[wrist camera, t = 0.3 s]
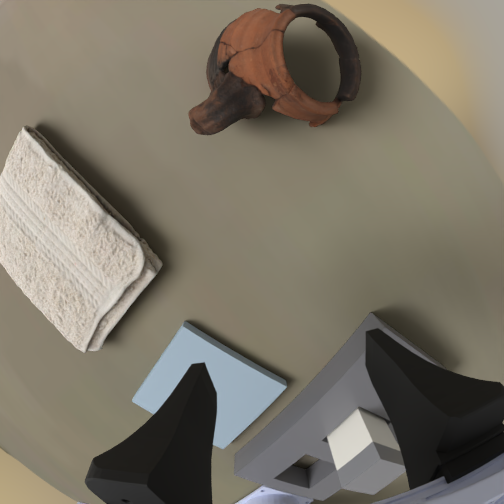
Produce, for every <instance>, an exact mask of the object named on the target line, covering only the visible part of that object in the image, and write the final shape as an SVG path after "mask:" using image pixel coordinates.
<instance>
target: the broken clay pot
mask: <svg viewBox="0 0 504 504" xmlns="http://www.w3.org/2000/svg"><path fill="white" fill-rule="evenodd" d="M275 8H276V9H278V10H281V12H280V14H279V13H275V12H274V11H271V10H267V9H261V8H257V9H255V10H253V11H250V12H246V13H244V14H243V15H241V16H240V17H239V18H238V19H236V20H234V21H233V22H231V23H230V24H229V25H228V26H227V27H226V28H225V29H224V30H223V31H222V32H221V34H220V36H219V37H218V38H217V40H216V42H215V45H214V47H213V49H212V52H211V54H210V56H209V59H208V63H207V71H206V74H207V79H208V84H209V87H210V89H211V93H210V96H209V97H208V99H206V100H205V101H204V102H202V103H201V104H199V105H198V106H196V107H194V108H192V109H191V110H190V111H189V118H190V125H191V127H192V129H193V130H194V131H195V132H196V133H197V134H203V135H212V134H216V133H218V132H220V131H222V130H224V129H225V128H227V127H228V126H230V125H231V124H233V123H235V122H237V121H238V120H240V119H243V118H246V119H250V118H257V117H258V116H259V115H260V114H261V112H262V111H263V110H264V108H265V105H266V103H265V98H264V97H263V94H264V95H267V96H271V97H272V98H274V99H275V101H274V104H273V105H272V109H273V110H275V111H277V112H279V113H282V114H284V115H287V116H290V117H292V118H294V119H300V120H306V121H310V123H309V125H310V127H317V126H318V125H320V124H323V123H325V122H326V121H327V120H328V119H329V118H330V117H331V116H332V115H334V114H337V113H338V112H339V111H338V108H339V107H340V105H341V104H342V102H343V101H352V100H354V99H355V98H356V95H357V93H358V90H359V85H360V81H361V65H360V60H359V54H358V50H357V47H356V45H355V43H354V40H353V38H352V36H351V34H350V33H349V31H348V30H347V28H346V27H345V25H344V24H343V23H342V22H341V21H340V20H339V19H338V18H337V17H335V16H334V15H333V14H332V13H330V12H329V11H327V10H326V9H324V8H321V7H319V6H316V5H312V4H299V5H295V6H293V5H286V4H279V5H277V6H276V7H275ZM297 17H307V18H311V19H313V20H315V21H317V22H316V25H317V26H318V27H319V28H321V29H322V30H324V31H325V32H326V33H327V35H328V36H329V37H330V38H331V41H332V43H333V45H334V47H335V49H336V51H337V53H338V55H339V57H340V58H339V65H340V73H341V83H340V87H339V91H338V93H337V96H336V97H335V99H334V101H332V102H319V101H317V100H315V99H313V98H311V97H309V96H308V95H307V94H305V93H304V92H303V91H302V90H301V89H300V88H299V87H298V86H297V85H296V84H295V83H294V81H293V79H292V77H291V75H290V73H289V71H288V68H287V66H286V62H285V58H284V54H283V37H284V32H285V30H286V28H287V26H288V25H289V23H290V22H291V21H293V20H294V19H295V18H297ZM228 64H229V66H228V69H229V72H228V73H225V72H224V69H225V68H226V67H227V65H228Z"/></svg>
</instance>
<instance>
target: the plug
mask: <svg viewBox="0 0 504 504" xmlns="http://www.w3.org/2000/svg"><path fill="white" fill-rule="evenodd" d="M327 439H328V442H329V445H330V449H331V452H332V456H333V459H334V463H335V466H336V469H337V473H338V476H339V480H340V483H341V487H342V489H346V490H351V491H356V492H361V493H366V494H371V495H374V494H376V493H377V492H378V491H380V490H381V489H383V488H384V487H385V486H387V485H388V484H389V483H391V482H392V481H393V480H395V479H396V478H397V477H398V476H400V475H401V474H402V473H403V472H405V471H406V469H405V465H404V461H403V457H402V454H401V451H400V447H399V446H398V444H397V442H396V440H395V438H394V436H393V434H392V432H391V431H390V429H389V427H388V425H387V423H386V421H385V419H384V418H383V417H381V416H379V415H377V414H374V413H372V412H370V411H368V410H366V409H364V408H362V407H360V406H359V407H358V408H357V409H356V410H355V411H353V412H352V413H351V414H350V415H349V416H348V417H347V418H346V419H345V420H344V421H343V422H342V423H341V424H340V425H339V426H338V427H336V428H335V429H334V430H333V431H332V432H331V433H330V434H329V435H328V436H327Z"/></svg>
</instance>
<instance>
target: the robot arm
mask: <svg viewBox="0 0 504 504" xmlns="http://www.w3.org/2000/svg"><path fill="white" fill-rule="evenodd" d="M365 365H366V368H367V371H368V374H369V377H370V380H371V383H372V385H373V387H374V389H375V391H376V393H377V395H378V397H379V399H380V401H381V403H382V405H383V407H384V409H385V411H386V413H387V415H388V417H389V419H390V421H391V424H392V426H393V429H394V432H395V435H396V438H397V441H398V444H399V447H400V451H401V454H402V457H403V461H404V465H405V469H406V473H407V477H408V482H409V487H410V491H407V492H404V493H402V494H399V495H396V496H393V497H390V498H387V499H384V500H381V501H378V502H374V503H371V504H503V503H504V425H503V423H502V422H503V420H504V386H503V385H502V384H501V383H500V382H492V381H485V380H479V379H475V378H470V377H466V376H463V375H460V374H457V373H454V372H451V371H448V370H446V369H443V368H441V367H439V366H437V365H435V364H432V363H430V362H428V361H427V360H425V359H423V358H421V357H420V356H418V355H416V354H414V353H413V352H411V351H410V350H408V349H407V348H405V347H404V346H402V345H401V344H400V343H398V342H397V341H395V340H394V339H393V338H391V337H390V336H389V335H387V334H386V333H384V332H383V331H382V330H380V329H379V328H376V329H372V330H369V331H366V353H365ZM216 417H217V392H216V389H215V387H214V385H213V382H212V380H211V377H210V375H209V372H208V370H207V367H206V364H205V362H203V363H194V364H191V366H190V367H189V368H188V370H187V371H186V373H185V374H184V376H183V377H182V379H181V380H180V382H179V383H178V385H177V386H176V387H175V389H174V390H173V392H172V393H171V394H170V396H169V397H168V398H167V400H166V401H165V402H164V403H163V405H162V406H161V407H160V408H159V409H158V411H157V412H156V413H155V414H154V415H153V416H152V417H151V418H150V419H149V420H148V421H147V422H146V423H145V424H144V425H143V426H142V427H140V428H139V429H138V430H137V431H136V432H134V433H133V434H132V435H131V436H130V437H128V438H127V439H125V440H124V441H123V442H121V443H120V444H118V445H117V446H115V447H113V448H112V449H110V450H108V451H106V452H104V453H103V454H101V455H99V456H97V457H95V458H93V460H92V463H91V465H90V468H89V471H88V473H87V476H86V479H85V484H86V485H87V487H88V488H89V489H90V490H91V491H92V492H93V493H94V494H95V495H97V496H98V497H99V498H100V499H101V500H103V501H104V502H105V503H107V504H212V487H211V457H212V447H213V440H214V432H215V425H216ZM312 501H313V499H312V498H308V497H304V496H300V495H296V494H292V493H289V492H285V491H281V490H278V489H275V488H271V487H268V486H265V485H263V486H261V487H260V488H258V489H257V490H255V491H254V492H252V493H251V494H249V495H248V496H246V497H245V498H243V499H242V500H240V501H238V502H237V503H235V504H309V503H311V502H312ZM77 504H87V503H83V502H78V503H77Z"/></svg>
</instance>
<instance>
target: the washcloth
mask: <svg viewBox="0 0 504 504" xmlns="http://www.w3.org/2000/svg"><path fill="white" fill-rule="evenodd" d="M5 164H6V165H5V167H4V170H3V172H2V173H1V176H0V262H1V264H2V265H3V267H4V268H5V269H6V270H7V272H8V274H9V275H10V276H11V277H12V279H13V280H14V281H15V283H16V284H17V286H19V287H20V288H21V289H22V291H23V292H24V294H25V295H26V296H27V297H28V298H29V299H30V300H31V302H32V303H33V304H35V306H36V307H37V308H38V309H39V310H40V311H42V312H43V314H44V315H45V316H46V317H47V319H48V320H49V321H51V323H53V324H54V325H55V327H56V328H57V329H58V330H59V332H60V333H62V334H63V336H64V337H65V338H66V339H67V340H68V341H69V342H71V343H72V344H73V345H74V346H75V347H76V349H79V350H81V351H82V352H84V353H86V352H87V351H88V350H89V351H98V350H100V349H102V346H103V343H104V340H105V338H106V337H107V335H108V334H109V333H110V331H111V330H112V329H113V328H114V326H115V325H116V324H117V322H118V321H119V320H120V319H121V317H122V316H123V315H124V314H125V312H126V311H127V310H128V308H129V307H130V306H131V304H132V303H133V302H134V301H135V300H136V299H137V297H138V296H139V295H140V293H141V292H142V291H143V290H144V289H145V288H146V287H147V286H148V285H149V283H150V282H151V281H152V279H153V278H154V277H155V276H156V275H157V273H158V271H159V270H160V269H161V267H162V265H163V264H162V261H161V260H160V259H159V258H158V256H157V255H156V254H154V253H153V252H152V249H150V248H149V246H148V244H147V242H146V241H145V240H144V239H141V238H140V236H139V234H138V233H137V232H135V230H134V229H133V227H132V226H131V225H130V224H129V222H128V221H126V220H125V218H124V217H122V216H121V214H120V213H118V212H117V210H115V209H114V208H113V206H111V205H110V204H109V203H108V202H107V201H106V200H105V199H104V198H103V197H102V196H101V195H100V194H99V193H98V192H97V191H96V190H95V189H94V188H93V187H92V186H91V185H90V184H89V183H88V182H87V181H86V180H85V179H84V178H83V177H82V176H81V175H80V174H79V173H78V172H77V171H76V170H75V169H74V168H73V167H72V166H71V165H70V164H69V163H68V162H67V161H66V160H65V159H63V158H62V156H61V155H60V154H59V153H58V152H57V151H56V150H55V149H54V147H53V146H52V145H51V144H50V143H49V142H48V141H47V140H46V138H45V137H44V136H43V135H41V134H40V133H39V132H38V131H37V130H36V129H34V128H32V127H29V126H24V127H23V128H22V131H21V132H19V134H18V137H17V139H16V141H15V142H14V145H13V146H12V149H11V151H10V153H9V156H8V157H7V160H6V163H5Z"/></svg>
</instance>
